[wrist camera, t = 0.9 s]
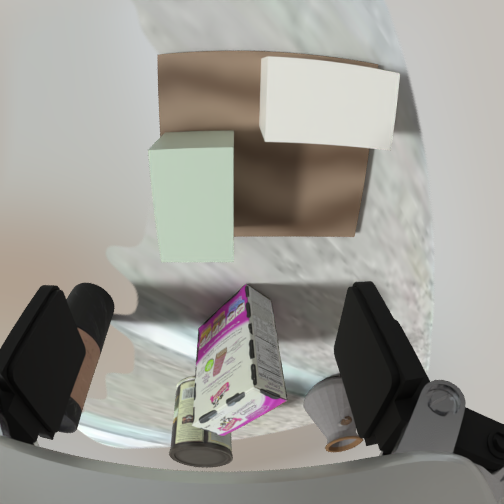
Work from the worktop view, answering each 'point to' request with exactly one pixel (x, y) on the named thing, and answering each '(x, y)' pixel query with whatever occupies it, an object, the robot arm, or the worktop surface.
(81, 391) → the travel mug
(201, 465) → the coffee can
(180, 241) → the pale green block
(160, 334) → the worktop surface
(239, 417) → the candy bar box
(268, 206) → the walnut board
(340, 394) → the coffee pot
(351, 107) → the white block
